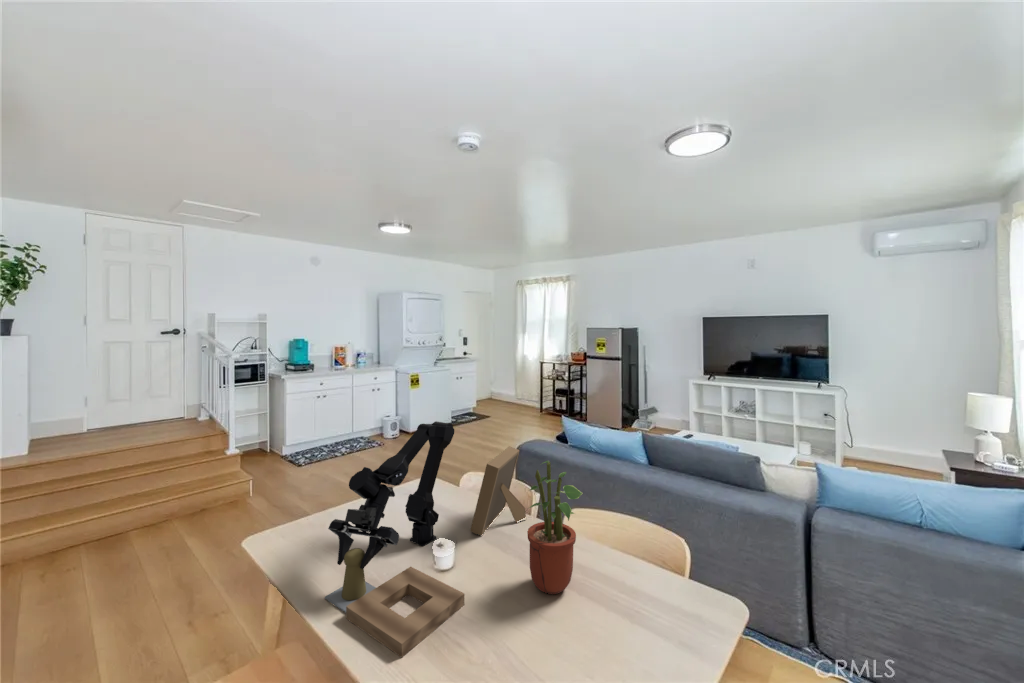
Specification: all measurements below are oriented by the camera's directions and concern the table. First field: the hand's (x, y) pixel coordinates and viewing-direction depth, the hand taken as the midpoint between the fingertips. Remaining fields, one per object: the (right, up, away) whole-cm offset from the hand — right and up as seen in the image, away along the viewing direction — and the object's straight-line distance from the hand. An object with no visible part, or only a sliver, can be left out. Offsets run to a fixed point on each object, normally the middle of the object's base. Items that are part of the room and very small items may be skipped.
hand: (349, 566), depth 103 cm
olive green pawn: (0, -8, +2) cm, 8 cm away
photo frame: (+38, -8, +41) cm, 57 cm away
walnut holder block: (+16, -9, -4) cm, 19 cm away
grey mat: (0, -8, +2) cm, 9 cm away
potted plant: (+52, -9, +8) cm, 54 cm away
